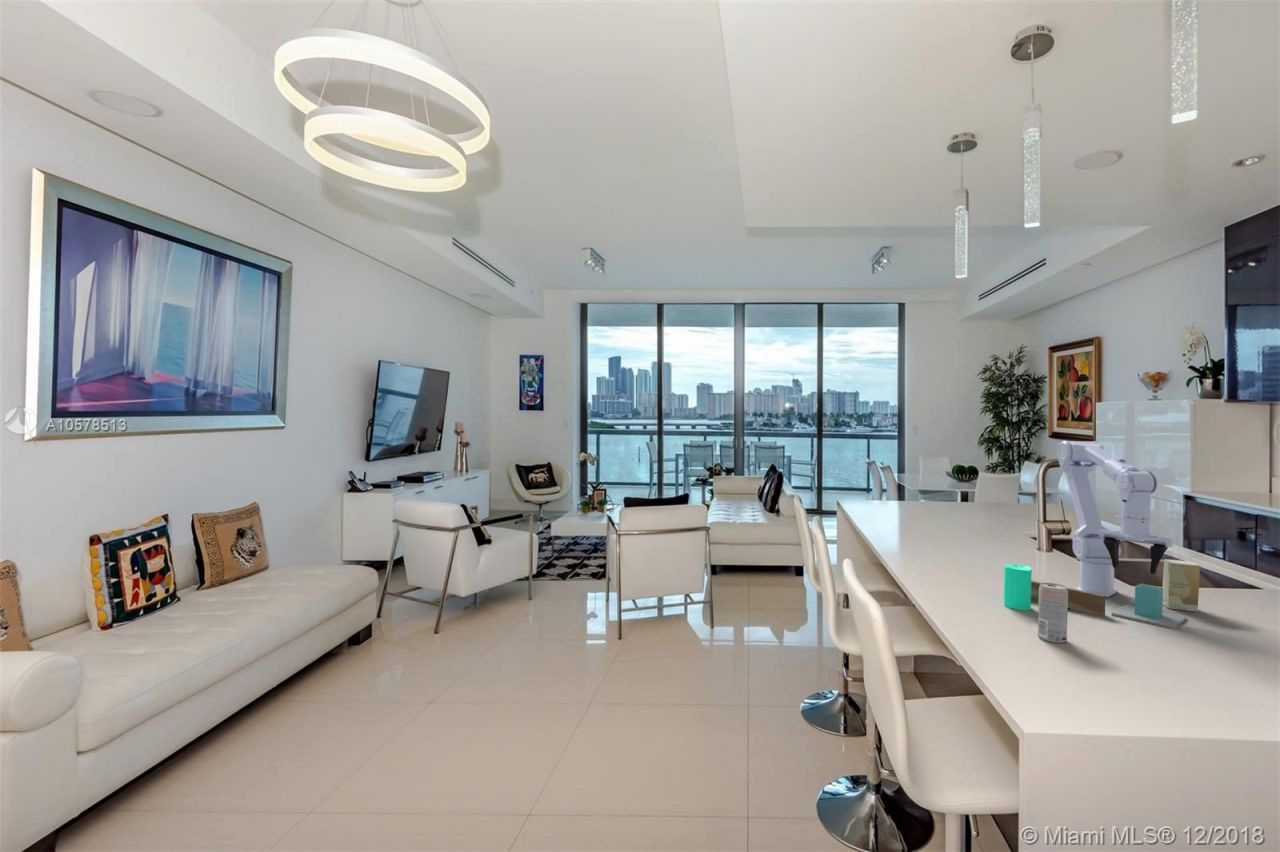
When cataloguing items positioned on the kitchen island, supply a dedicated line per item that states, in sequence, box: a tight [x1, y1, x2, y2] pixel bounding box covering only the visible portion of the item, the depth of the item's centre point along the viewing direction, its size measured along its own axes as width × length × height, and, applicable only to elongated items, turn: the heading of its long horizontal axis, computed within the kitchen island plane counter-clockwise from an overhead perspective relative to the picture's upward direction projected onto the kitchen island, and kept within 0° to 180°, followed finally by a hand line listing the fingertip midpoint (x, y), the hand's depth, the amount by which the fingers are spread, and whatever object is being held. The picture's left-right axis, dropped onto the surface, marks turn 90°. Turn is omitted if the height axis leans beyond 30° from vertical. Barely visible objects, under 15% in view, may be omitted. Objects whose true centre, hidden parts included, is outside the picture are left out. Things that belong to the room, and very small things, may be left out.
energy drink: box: [1037, 582, 1069, 644], centre depth 132 cm, size 5×5×12 cm
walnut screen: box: [1031, 579, 1107, 617], centre depth 156 cm, size 2×20×5 cm, turn 37°
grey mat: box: [1111, 603, 1187, 630], centre depth 148 cm, size 12×12×1 cm
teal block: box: [1134, 583, 1164, 619], centre depth 148 cm, size 4×4×7 cm
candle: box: [1003, 563, 1033, 611], centre depth 155 cm, size 6×6×12 cm
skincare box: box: [1162, 558, 1201, 613], centre depth 155 cm, size 6×4×12 cm
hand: (1134, 569), depth 153 cm, fingers open, 7 cm apart
